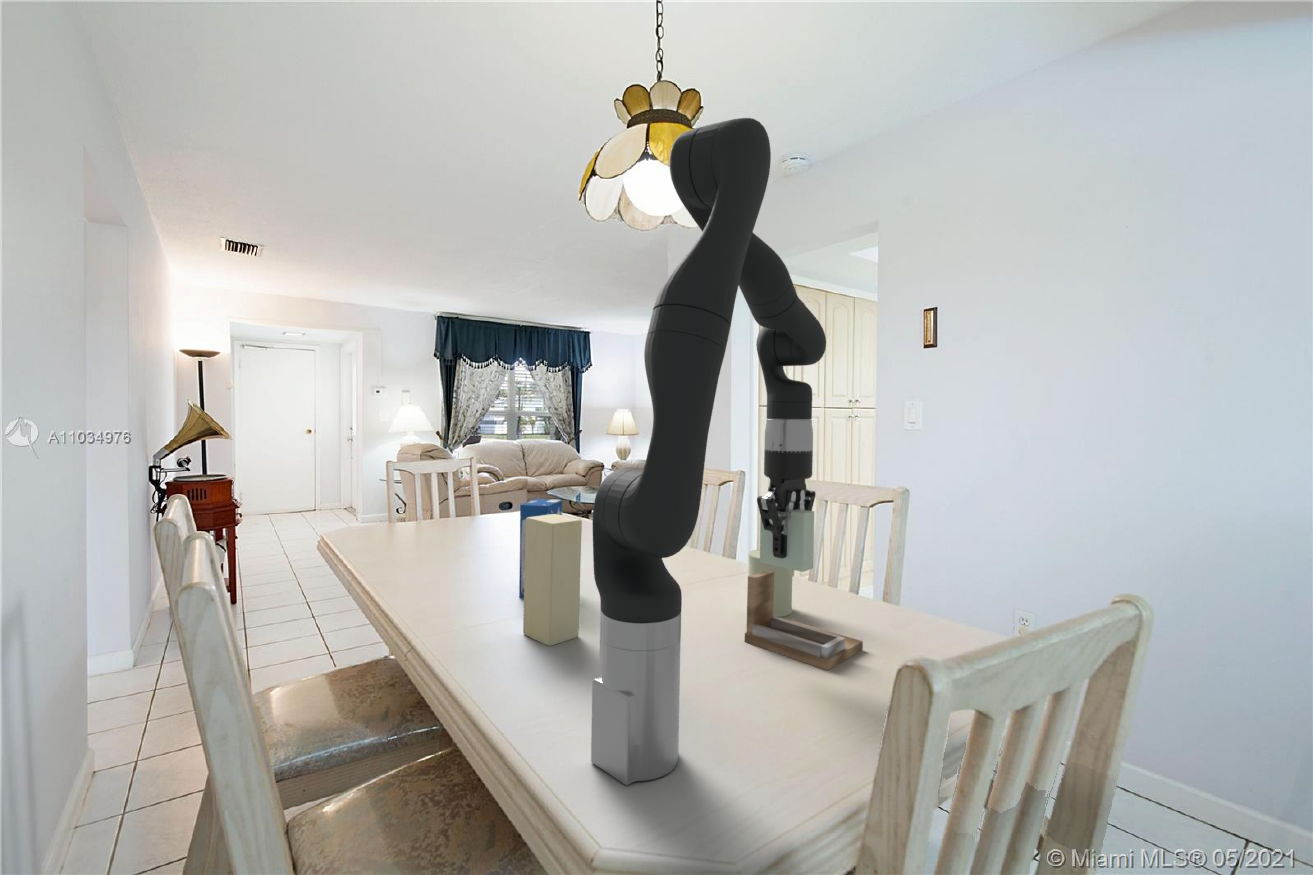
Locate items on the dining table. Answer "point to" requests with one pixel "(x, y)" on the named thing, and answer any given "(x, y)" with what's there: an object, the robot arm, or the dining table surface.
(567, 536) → the tall beige block
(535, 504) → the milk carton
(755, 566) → the can
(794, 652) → the track base
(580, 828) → the dining table surface
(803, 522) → the door panel
